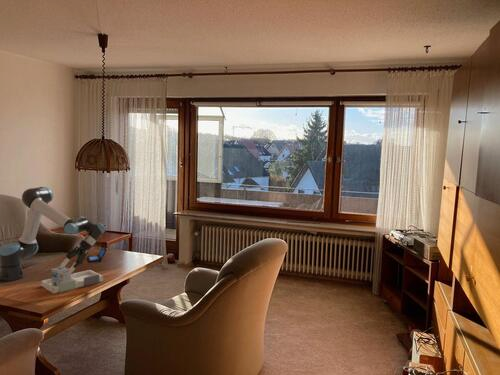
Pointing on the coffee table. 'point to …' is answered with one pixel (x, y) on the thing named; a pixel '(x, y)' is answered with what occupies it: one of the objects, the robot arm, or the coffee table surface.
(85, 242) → the robot arm
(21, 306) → the coffee table surface
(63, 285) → the tagged dock
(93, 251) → the coffee table surface
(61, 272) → the light bulb box
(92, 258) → the handheld game console
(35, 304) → the coffee table surface
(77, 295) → the coffee table surface
